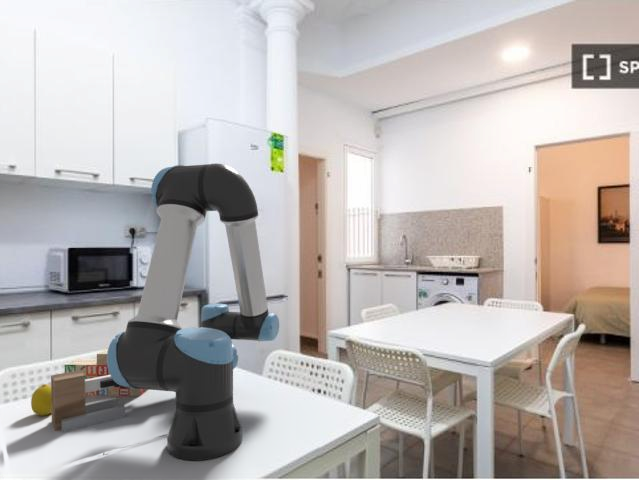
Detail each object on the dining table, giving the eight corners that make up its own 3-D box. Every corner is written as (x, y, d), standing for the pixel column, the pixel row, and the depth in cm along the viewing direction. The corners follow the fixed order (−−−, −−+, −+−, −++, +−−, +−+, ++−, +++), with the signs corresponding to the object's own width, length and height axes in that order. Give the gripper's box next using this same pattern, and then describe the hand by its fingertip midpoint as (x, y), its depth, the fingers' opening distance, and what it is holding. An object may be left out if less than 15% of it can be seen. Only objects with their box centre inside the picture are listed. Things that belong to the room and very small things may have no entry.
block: (85, 423, 100) (84, 375, 100) (55, 430, 96) (54, 380, 96) (80, 416, 104) (80, 370, 104) (51, 423, 100) (51, 375, 100)
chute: (125, 419, 104) (125, 407, 104) (62, 435, 96) (62, 422, 96) (115, 408, 111) (115, 396, 111) (55, 422, 103) (55, 410, 103)
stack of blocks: (64, 398, 119) (63, 353, 119) (78, 390, 125) (77, 347, 125) (141, 399, 117) (140, 353, 117) (151, 391, 124) (150, 347, 124)
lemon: (45, 422, 103) (45, 388, 103) (25, 421, 104) (25, 387, 104) (63, 413, 108) (63, 381, 108) (44, 411, 109) (44, 379, 109)
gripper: (191, 387, 112) (89, 410, 97) (173, 375, 122) (78, 394, 108) (191, 357, 112) (89, 377, 97) (172, 348, 122) (77, 364, 108)
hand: (83, 386), depth 103 cm, fingers closed
